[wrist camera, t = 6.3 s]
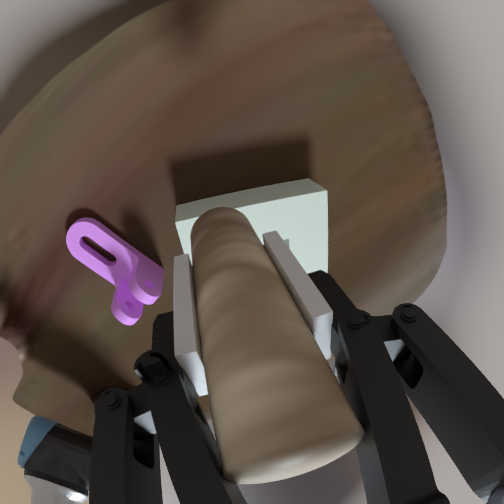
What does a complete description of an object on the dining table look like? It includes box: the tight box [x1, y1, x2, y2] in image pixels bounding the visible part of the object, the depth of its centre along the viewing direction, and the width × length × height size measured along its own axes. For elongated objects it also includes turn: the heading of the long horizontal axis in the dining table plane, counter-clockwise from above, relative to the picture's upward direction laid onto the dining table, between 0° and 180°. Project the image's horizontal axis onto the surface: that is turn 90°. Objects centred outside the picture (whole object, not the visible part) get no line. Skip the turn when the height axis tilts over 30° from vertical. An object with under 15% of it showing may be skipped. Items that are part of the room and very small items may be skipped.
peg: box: [190, 207, 365, 484], centre depth 12 cm, size 4×4×14 cm
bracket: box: [66, 217, 164, 325], centre depth 29 cm, size 13×6×7 cm, turn 43°
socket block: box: [175, 178, 328, 274], centre depth 34 cm, size 16×16×5 cm
